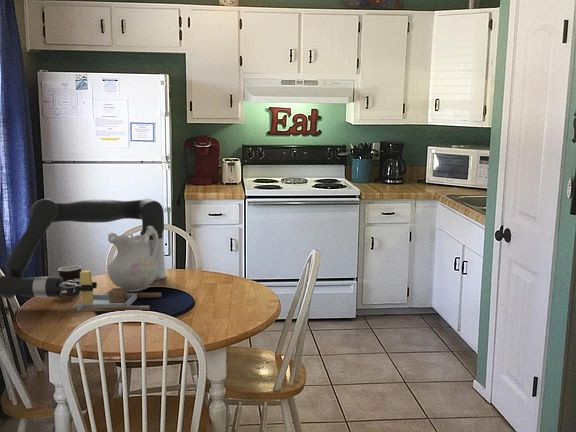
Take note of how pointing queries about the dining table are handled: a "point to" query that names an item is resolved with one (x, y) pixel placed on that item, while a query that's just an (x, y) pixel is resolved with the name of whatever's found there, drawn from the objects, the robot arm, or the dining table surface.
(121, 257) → the ceramic pitcher
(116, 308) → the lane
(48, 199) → the robot arm
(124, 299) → the block
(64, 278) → the coffee mug
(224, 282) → the dining table surface
